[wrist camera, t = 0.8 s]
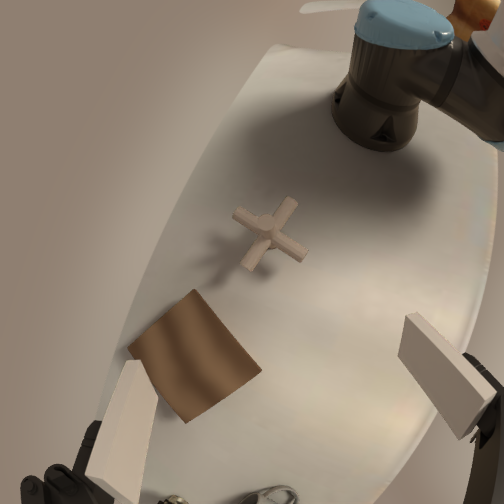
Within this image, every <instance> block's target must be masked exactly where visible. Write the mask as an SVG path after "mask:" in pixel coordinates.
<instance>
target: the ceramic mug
mask: <svg viewBox="0 0 504 504" xmlns="http://www.w3.org/2000/svg"><path fill="white" fill-rule="evenodd" d="M282 490H288V491H289V492H290V493H291V494H292V495H293V496H295V501H294V503H293V504H299V501H300V500H299V495H298V493H297V492H296V491H295V490H294V489H292V488H291V487H288V486H277V487H274V488H271V489H270V490H268V491H267V492H265V493H264V494H260V493H252V494H250V495H248V496H247V497H245V498H244V499H243V500H242V501H241V502H240V503H239V504H278V503H276V502H274V501H273V500H271V499H269V498H267V497H268V496H270V495H271V494H273V493H275V492H277V491H282Z"/></svg>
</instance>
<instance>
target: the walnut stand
mask: <svg viewBox="0 0 504 504" xmlns="http://www.w3.org/2000/svg"><path fill="white" fill-rule="evenodd" d="M127 349H128V350H129V352H130V353H131V354H132V356H133V357H134V359H135V360H141V362H142V364H143V367H144V369H145V371H146V373H147V375H148V377H149V380H150V381H151V382H152V384H153V385H154V386H155V388H156V389H157V390H158V391H159V393H160V394H161V395H162V396H163V398H164V399H165V400H166V401H167V403H168V404H169V405H170V406H171V407H172V409H173V410H174V411H175V412H176V413H177V415H178V416H179V417H180V418H181V419H182V420H183V421H184V423H185V424H186V423H188V422H189V421H191V420H192V419H194V418H195V417H197V416H199V415H200V414H202V413H203V412H205V411H206V410H208V409H209V408H211V407H212V406H214V405H215V404H217V403H218V402H220V401H221V400H223V399H224V398H226V397H227V396H228V395H230V394H231V393H233V392H234V391H236V390H237V389H238V388H240V387H241V386H243V385H244V384H245V383H247V382H248V381H249V380H251V379H252V378H253V377H255V376H256V375H258V374H259V373H260V372H261V371H262V369H261V368H260V367H259V366H258V365H257V363H256V362H255V361H254V360H253V359H252V358H251V357H250V355H249V354H248V353H247V352H246V351H245V350H244V348H243V347H242V346H241V345H240V344H239V342H238V341H237V340H236V339H235V338H234V336H233V335H232V334H231V333H230V332H229V330H228V329H227V328H226V327H225V326H224V324H223V323H222V322H221V321H220V319H219V318H218V317H217V316H216V314H215V313H214V312H213V311H212V309H211V308H210V307H209V306H208V304H207V303H206V302H205V301H204V299H203V298H202V297H201V295H200V294H199V293H198V292H197V290H196V289H193V290H192V291H191V292H190V293H188V294H187V295H186V296H185V297H184V298H183V299H182V300H180V301H179V302H178V303H177V304H176V305H175V306H174V307H172V308H171V309H170V310H169V311H168V312H167V313H166V314H164V315H163V316H162V317H161V318H160V319H159V320H158V321H157V322H155V323H154V324H153V325H152V326H151V327H150V328H149V329H147V330H146V331H145V332H144V333H143V334H142V335H141V336H140V337H138V338H137V339H136V340H135V341H134V342H133V343H132V344H131V345H129V346H128V347H127Z"/></svg>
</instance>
